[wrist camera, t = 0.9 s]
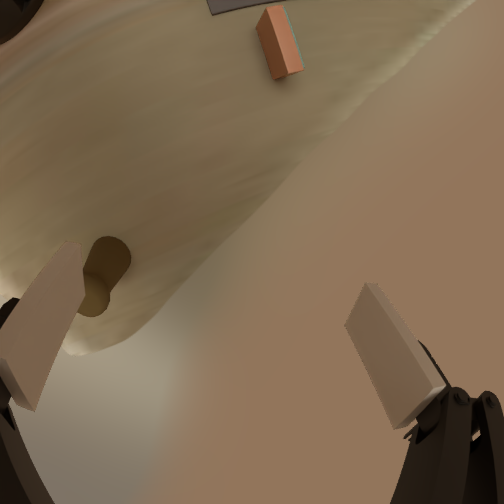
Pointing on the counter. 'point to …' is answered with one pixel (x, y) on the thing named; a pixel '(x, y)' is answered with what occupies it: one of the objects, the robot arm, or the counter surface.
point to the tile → (279, 43)
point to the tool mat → (233, 4)
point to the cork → (103, 274)
